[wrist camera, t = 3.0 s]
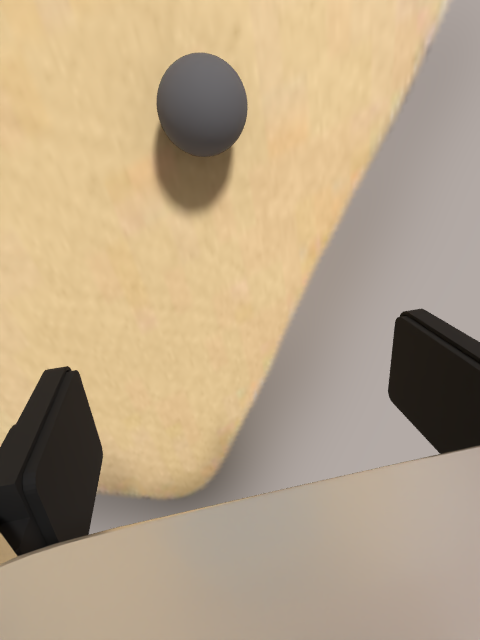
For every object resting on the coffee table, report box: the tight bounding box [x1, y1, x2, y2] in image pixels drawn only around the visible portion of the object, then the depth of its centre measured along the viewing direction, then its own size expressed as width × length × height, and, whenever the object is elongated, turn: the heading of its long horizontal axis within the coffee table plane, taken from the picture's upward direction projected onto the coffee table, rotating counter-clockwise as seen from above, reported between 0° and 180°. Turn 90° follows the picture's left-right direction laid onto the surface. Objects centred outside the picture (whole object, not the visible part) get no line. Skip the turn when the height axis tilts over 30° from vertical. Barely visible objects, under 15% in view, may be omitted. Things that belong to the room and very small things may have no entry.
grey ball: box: [157, 53, 247, 157], centre depth 21 cm, size 5×5×5 cm
